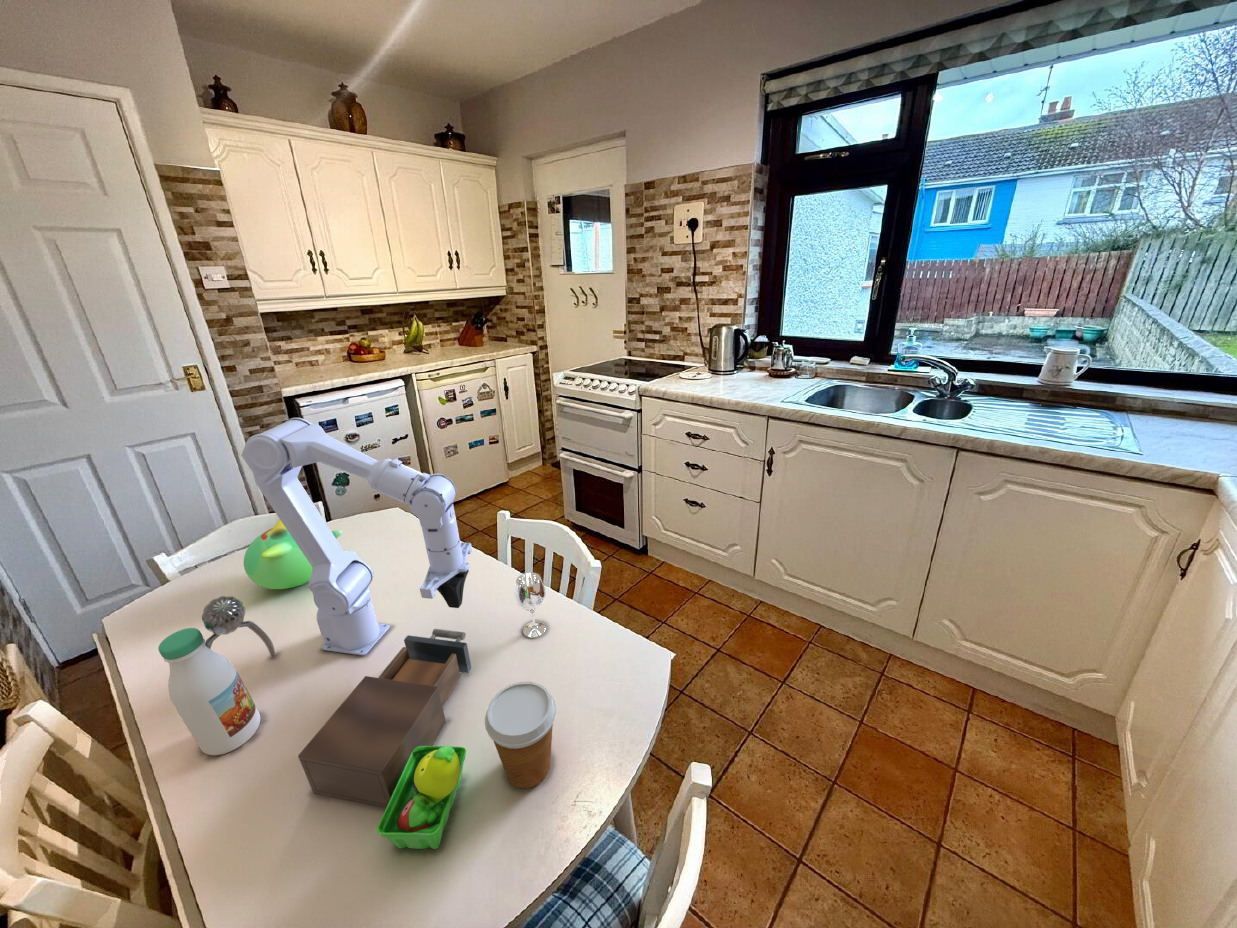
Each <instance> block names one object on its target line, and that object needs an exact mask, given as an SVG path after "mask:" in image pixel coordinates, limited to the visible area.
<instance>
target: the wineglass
mask: <svg viewBox="0 0 1237 928" xmlns="http://www.w3.org/2000/svg"><path fill="white" fill-rule="evenodd" d="M514 600H515V602H516V603H515V604H516V605H517V607H518V608H520V609H521V610H523V611H526V612H529V614H530V616H531V622H528V623H527V624H525V626H524V627H523V629H522V634H523V635H524V636H525V637H527V638H530V639H533V638H534V639H535V638H538V637H540V636H543V634H544V633H545V632H546V629H547V627H546V625H545V624H544V623H543V622H542V621H535V614H536V610H538V609H539V608H540V607H542V606H543V605H544V602H545V601H546V588H545V584H544V582H543V579H542V577H541V575H540V574H539V573H537V572H531V571H530V572H524V573H522V574H520V575H519V576H518V577H517V578H516V580H515V584H514Z"/></svg>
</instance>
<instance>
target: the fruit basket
mask: <svg viewBox="0 0 1237 928" xmlns="http://www.w3.org/2000/svg"><path fill="white" fill-rule="evenodd" d="M466 755H467V749H466V748H465V747H464V746H450V745H432V746H419V747H417V748H415V749H414V750H413V751H412V753H411V755H410V758H409V760H408V762H407V764H406V766H405V769H404V771H403V773H402V775H401V777H400V779H399V782H398V784H397V786H396V788H395V790H394V792H393V795H392V797H391V799H390V801H389V803H388V806H387V808H385V810H384V812H383V814H382V816H381V818H380V820H379V823H378V825H377V827H376V830H377V831H376V832H377V833H378V834H379V835H380V836H382V837H383V838H386V839H387V840H389V841H390V843H392V844H393V845H394V846H396V848H398V849H404V848H409V849H417V850H419V849H420V850H421V849H423V850H424V849H433V850H436V849H438V848H439V847H440V844H441V841H442V838H443V831H444V830H445V828H446V827H447V824H448V819H449V818H450V811H451V809H452V808H453V805H454V802H455V800H456V795H457V791H458V789H459V787H460V784H461V782H462V776H463V770H464V762H465V760H466Z"/></svg>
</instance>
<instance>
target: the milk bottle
mask: <svg viewBox="0 0 1237 928" xmlns="http://www.w3.org/2000/svg"><path fill="white" fill-rule="evenodd" d="M205 643H206V640H205V638H204V636H203V634H202V632H201V630H199V629H198V628H195V627H188V628H187V627H186V628H183V629H180V630H177V631H175V632H173V633H171V634H169V635H168V636H166V637H165V638H164V639H163V640H162V641H161V642H160V643H159V645H158V648H157V649H158V652H159V655H160V656H161V657H162V658H163V660H164V662H165V663H168V666H169V675H168V684H167V688H168V695H169V698H170V701H171V702H172V705H173V706H174V708H175V710H176V712H177V713H178V715H179V717H180V718H181V720H182V723H183V724H184V725H185V726H186V728H187V730H188V732H189V733H190V734H191V736H192V738H193V739H194V741H195V742H196V744H197V745H198V748H199V749H200V750H201V751H202V753H204V754H206V755H209V756H221V755H224V754H228V753H230V752H232V751H234V750H236V749H238V748H240V747H241V746H242V745H244V744H245V743H246V742H248V741H249V740H250V739H251V738H252V737H253V736H254V735H255V733H257V730H258V728H259V726H260V724H261V714H260V712H259V709H258V707H257V706H256V704H255V702H254V700H253V698H252V696H251V694H250V693H249V690H248V689H247V687H246V685H245V683H244V681H243V679H242V678H241V676H240V674H239V672H238V670H237V668H236V667H235V666H234V664H233V663H232V662H231V661H230V660H229V659H228V658H227V657H225V656H224V655H222V654H220V653H218V652H216V651H214V650H212V649H209V648H208V647H207V646H205Z"/></svg>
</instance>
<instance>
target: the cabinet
mask: <svg viewBox="0 0 1237 928" xmlns="http://www.w3.org/2000/svg"><path fill="white" fill-rule="evenodd" d="M446 723H447V720H446V716H445V712H444V706H443V707H442V702H441V698H440V694H439V690H438V687H436V686H429V685H422V684H416V683H409V682H402V681H396V680H389V679H382V678H378V677H376V676H369V675H365V676H364V677H363V678H362V680H361V681H359V683H358V684H357V685H356V686H355V688H354V689H353V690H352V691H351V693H350V694H349V695H348V696H347V697H346V698H345V699H344V701H342V703H341V704H340V705H339V707H338V708H337V709H336V710H335V711H334V712H333V714H332V715H331V716H330V717H329V718H328V719H327V721H325V723H324V724H323V725H322V726H321V728H320V729H319V730H318V731H317V732H316V734H315V735H314V736H313V738H311V740H309V742H308V743H307V745H305V747H304V748H303V749H302V750H301V752H300V753H299V754H298V755H297V757H298V759H299V762H300V765H301V766H302V769H303V772H304V774H305V777H306V778H307V782H308V784H309V786H310V788H311V791H312V794H316V795H320V796H325V797H330V798H335V799H340V800H345V801H350V802H355V803H360V804H363V805H369V806H374V807H379V808H384V809H386V808H387V806H388V803H389V801H390V799H391V797H392V795H393V792H394V790H395V788H396V786H397V784H398V782H399V779H400V777H401V775H402V773H403V771H404V769H405V766H406V764H407V762H408V760H409V758H410V755H411V753H412V751H413V750H414V749H415V748H417V747H419V746H434V743H435V741H436V740H437V738H438V737H439V734H440V733H441V732H442V730H443V728H444V726H445V725H446Z"/></svg>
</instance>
